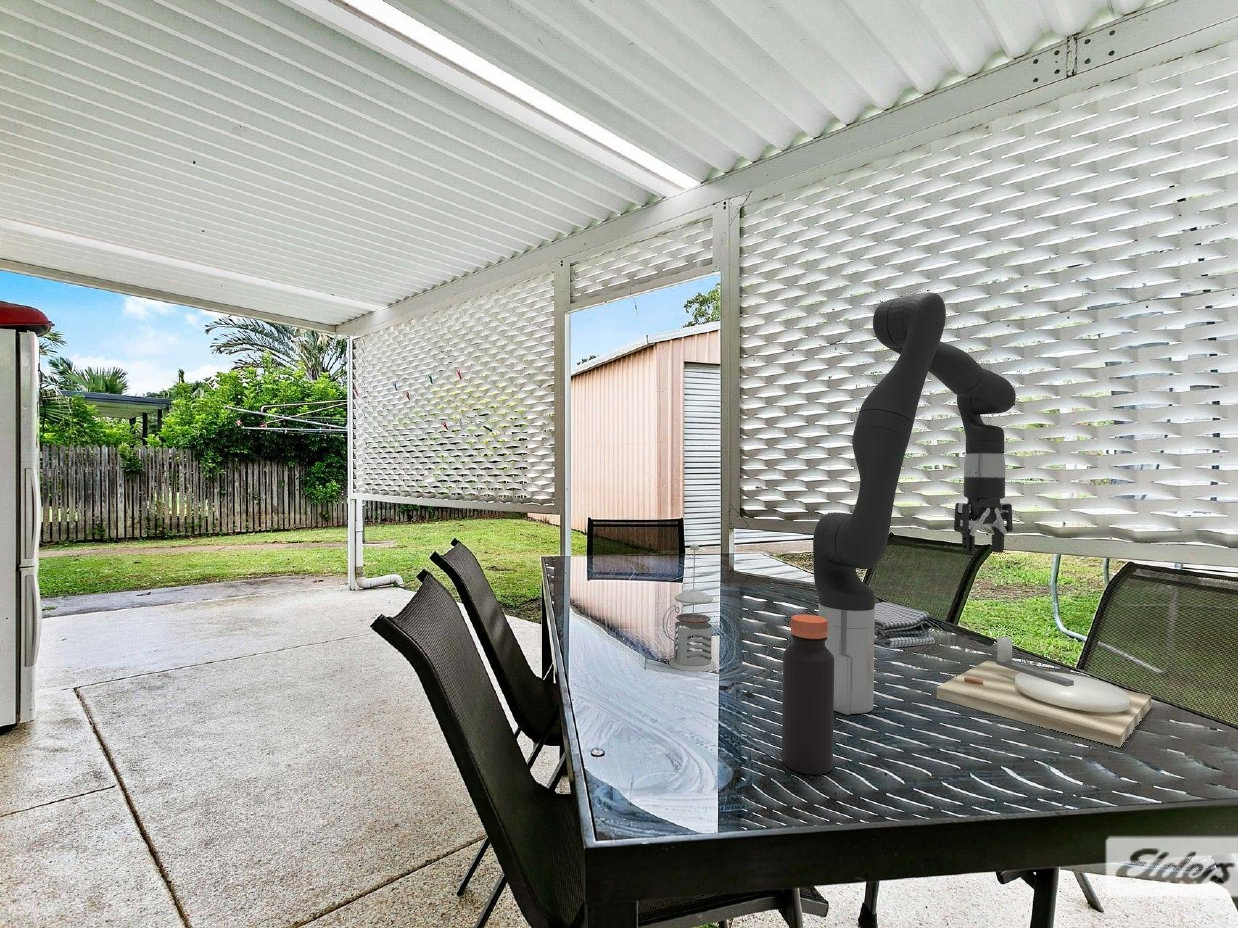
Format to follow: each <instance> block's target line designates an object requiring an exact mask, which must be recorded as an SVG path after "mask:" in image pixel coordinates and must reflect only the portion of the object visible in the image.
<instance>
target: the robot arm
mask: <svg viewBox="0 0 1238 928" xmlns="http://www.w3.org/2000/svg"><path fill="white" fill-rule="evenodd" d="M946 316H947V310H946V304H945V301H944V300H943V297H941V296H940V294H938V293H936V292H920V293H915V294H911V295H905V296H904V295H903V296H900V297H894V298H889V299H887V300H885V301H883V302H881V303H879V305H878V306H877V307H876V309H875V311H874V313H873V317H872V328H873V333H874V335H875V337H876V339H877V340H878V342H880V344H881V345H883V346H885V347H886V348H888V349H889V350H891V351H893V352H894V353H897V354H899V356H898V358H897V360H896V362H895V363H894V365H893V366H892V368H891V369H889V372H887V374H886V375H885V376H883V378H882V379H881V380H880V381H879V382H878V383H877V384H876V386H875V387H874V388H873V389H872V390H871V391H870V393H869V394H868V395H867V397H866V398H865V399H864V401H863V402H862V404H861V406H860V409H859V412H858V415H857V419H856V423H855V425H854V430H853V433H852V440H851V441H852V443H851V444H852V450H853V455H854V459H855V462H856V466H857V470H858V475H859V489H858V495H857V499H856V502H855V506H854V509H853V512H852V513H849V512H839V511H838V512H829V513H826V514H824V515H823V516H821V518H820V519H819V520H818V522H817V524H816V526H815V528H814V531H813V532H814V533H813V539H812V556H813V557H812V560H813V582H814V586H815V589H816V591H817V595H818V616H820V617H823V618H825V619H827V620H828V636H827V640H826V641H825V646H826V648H827V649H828V650H829V651H830V652H831V653H832V655H833V656H834V711H835V712H838V713H840V714H844V715H846V716H847V715H852V714H866V713H869V712H872V711H873V709H874V695H875V694H874V691H875V690H874V689H875V688H874V686H875V684H874V682H875V681H874V680H875V679H874V678H875V677H874V675H875V673H874V672H875V642H874V625H875V604H876V597H875V596H876V595H875V592H874V590H872V589H871V587H869V586H868V585H867V584H865V582H864V581H863V580H862V579H861V578H860V576H859V575H858V573H857V569H859V570H869V569H872V568H874V567H875V566H877V565H878V564H879V563H880V561H881V559H882V558H883V556H884V553H885V552H886V548H887V546H888V540H889V535H890V529H891V522H892V515H893V509H894V503H895V502H894V501H895V498H896V492H897V488H898V483H899V479H900V474H901V470H902V466H903V462H904V458H905V455H906V452H907V448H908V445H909V443H910V439H911V435H912V431H913V429H914V424H915V419H916V414H917V411H918V410H917V409H918V407H919V402H920V399H921V397H922V392H923V388H924V386H925V381H926V378H927V376H928V373H930V374H931V375H932V376H934V377H935V378H936V379H937V380H939V381H940V382H941V383H942V384H943V385H944V386H945V387H946V388H947V389H948V390H950V391H951V392H952V393H953V394H954V395H956V406H957V409H958V412H959V415H960V417H961V418H960V419H961V422H962V425H963V429H964V430H963V431H964V435H965V456H964V462H963V497H964V498H967V503H963V502H957V503H955V505H954V507H955V508H954V521H953V530H954V532H958V533H959V534H960V535H961V549H962V553H964V554H968V555H972V554H975V551H976V550H975V547H976V545H975V544H976V543H975V542H976V540H975V539H976V538H975V537H976V536H975V534H976V532H977V530H978V529H979V528H981V527H982V525H986V526H988V527H989V529H990V531H991V533H992V534H991V552H992V553H999V554H1002V553H1004V549H1005V535H1007V533H1008V532H1009V533H1010V532H1012V531H1013V530H1014V529H1013V525H1014V524H1013V505H1012V504H1011V503H1007V502H1005V503H1004V502H1002V503H1001V500H1002V499H1004V498H1006V459H1005V431H1004V428H1002V426H999V425H992V424H991V425H990V424H987V423H984V421H983V419H982V416H981V415H994V414H995V415H996V414H1004V413H1006V412H1009V411H1010V410H1012V408H1013V406H1014V405H1015V403H1016V399H1017V395H1016V391H1015V387H1014V386H1013V385H1012V383H1011V382H1010V381H1009V380H1007V378H1005V377H1004V376H1002V375H1000V374H998V373H996V372H993V371H991V370H989V369H986V368H984V367H982V365H980V364H979V362H977V361H976V360H975V359H974V358H973V357H972V356H971V355H970V354H969V353H967V352H966V351H965V350H963V349H961V348H959V347H957V346H954V345H952V344H949V343H946V342H944V341H941V340H942V336H943V334H944V330H945V326H946V319H947V318H946ZM961 521H962V526H961ZM1005 521H1006V522H1005ZM1005 524H1006V525H1005Z"/></svg>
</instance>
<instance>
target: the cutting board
mask: <svg viewBox="0 0 1238 928" xmlns="http://www.w3.org/2000/svg"><path fill="white" fill-rule="evenodd" d="M1018 673H1021V672H1019V671H1016V670H1013V669H1010V668H1007V667H1003V666H1000V665H997V664H996V661H992V660H989V659H987V660H986V661H984V662H982V663H980V664H978V665H976V666H974V667H972V668H971V669H968V670H966V671H965V672H963V673H961V674H959V675H957V676H954V677H953V678H951V679H950V680H948V681H946V682H944V683H941V684H940V685H939V686H938V685H937V687H936V699H938V700H940V701H941V700H942V701H945V702H949V703H951V704H952V703H953V704H955V705H956V704H957V705H960V706H963V707H966V708H969V709H970V708H971V709H974V710H978V711H981V712H985V713H988V714H991V715H997V716H999V717H1003V718H1007V719H1010V720H1013V721H1018V722H1022V723H1025V724H1028V725H1031V724H1032V726H1035V727H1039V726H1040V727H1039V728H1042V727H1043V728H1042V729H1046V730H1050V729H1053V730H1056V731H1055V732H1057V731H1059V732H1058V733H1060V732H1064V733H1067V734H1066V735H1068V734H1072V735H1075V736H1079V737H1084V738H1087V739H1091V740H1095V741H1099V742H1104V743H1106V744H1109V745H1114V746H1117V747H1121V745H1122V744H1123V742H1125V743H1126V741H1127V740H1128V739H1127V737H1128V738H1130V736H1131V735H1132V733H1134V731H1135V730H1136V728H1137V727H1138V726H1139V724H1140V723H1141V722H1140V721H1142V720H1143V719H1144V718H1145V716H1146V715H1147V714H1148V712H1149V711H1150V710H1151V708H1152V696H1151V695H1150V694H1149V695H1148V694H1143V693H1139V692H1135V691H1129V690H1125V689H1122V690H1123V691H1125V692H1126V693H1128V694H1129V696H1130V708H1129V709H1128V710H1126V711H1122V712H1112V713H1106V712H1091V711H1083V710H1077V709H1071V708H1066V707H1062V706H1058V705H1054V704H1050V703H1047V702H1043V701H1040V700H1037V699H1035V698H1032V697H1030V696H1028V695H1026V694H1024V693H1022V692H1020V691H1019V690H1018V689H1017V688H1016V686H1015V676H1016V675H1017V674H1018ZM1142 718H1143V719H1142ZM1139 722H1140V723H1139ZM1137 725H1138V726H1137ZM1136 726H1137V727H1136ZM1135 727H1136V728H1135ZM1053 730H1052V731H1053ZM1133 730H1134V731H1133ZM1064 733H1063V734H1064ZM1130 734H1131V735H1130ZM1129 735H1130V736H1129ZM1075 736H1074V737H1075ZM1126 739H1127V740H1126ZM1125 740H1126V741H1125ZM1123 745H1124V744H1123ZM1123 745H1122V746H1123ZM1121 748H1122V747H1121Z"/></svg>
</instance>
